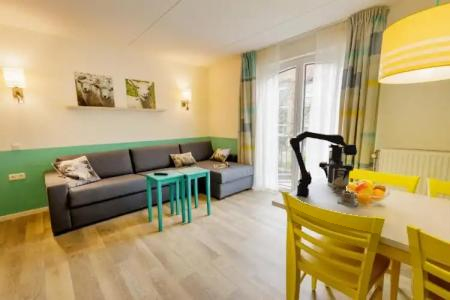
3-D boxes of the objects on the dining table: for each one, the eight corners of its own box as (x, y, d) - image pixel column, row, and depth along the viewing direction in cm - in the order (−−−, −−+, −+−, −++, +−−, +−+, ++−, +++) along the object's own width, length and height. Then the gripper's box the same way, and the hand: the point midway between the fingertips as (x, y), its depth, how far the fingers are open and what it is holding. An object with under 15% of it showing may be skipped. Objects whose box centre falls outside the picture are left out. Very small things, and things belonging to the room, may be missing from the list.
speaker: (325, 183, 165) (327, 149, 161) (339, 183, 164) (341, 149, 160) (330, 187, 155) (332, 152, 151) (345, 187, 154) (348, 152, 150)
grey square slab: (337, 203, 127) (337, 194, 126) (339, 197, 135) (340, 189, 134) (357, 207, 121) (358, 198, 120) (358, 201, 129) (359, 192, 128)
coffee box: (332, 191, 146) (333, 169, 144) (333, 189, 151) (334, 167, 149) (347, 194, 141) (349, 170, 139) (348, 191, 146) (349, 168, 144)
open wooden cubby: (342, 198, 132) (342, 189, 131) (353, 199, 129) (354, 190, 128) (341, 201, 127) (341, 192, 126) (353, 203, 124) (353, 193, 123)
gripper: (317, 155, 131) (316, 180, 133) (353, 158, 120) (351, 185, 122) (321, 153, 140) (320, 176, 142) (354, 155, 129) (352, 180, 131)
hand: (335, 179), depth 134 cm, fingers open, 9 cm apart
